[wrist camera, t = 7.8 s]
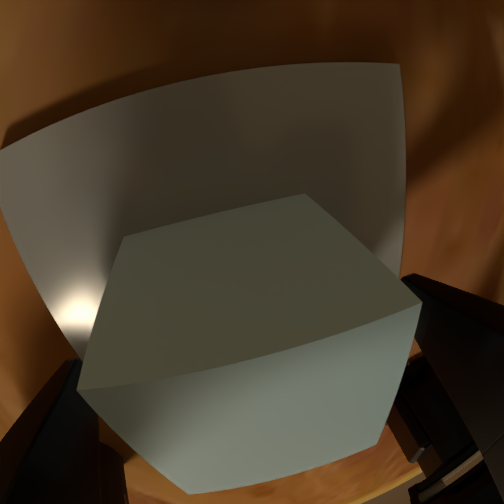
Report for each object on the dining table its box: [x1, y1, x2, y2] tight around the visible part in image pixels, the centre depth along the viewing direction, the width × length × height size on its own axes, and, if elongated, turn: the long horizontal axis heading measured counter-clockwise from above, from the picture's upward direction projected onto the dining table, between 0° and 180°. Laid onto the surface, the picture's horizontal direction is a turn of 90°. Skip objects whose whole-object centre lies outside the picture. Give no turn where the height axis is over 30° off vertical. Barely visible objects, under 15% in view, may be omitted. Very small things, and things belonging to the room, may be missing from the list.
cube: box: [77, 193, 422, 495], centre depth 7 cm, size 5×5×5 cm
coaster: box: [0, 62, 406, 362], centre depth 10 cm, size 12×12×1 cm
